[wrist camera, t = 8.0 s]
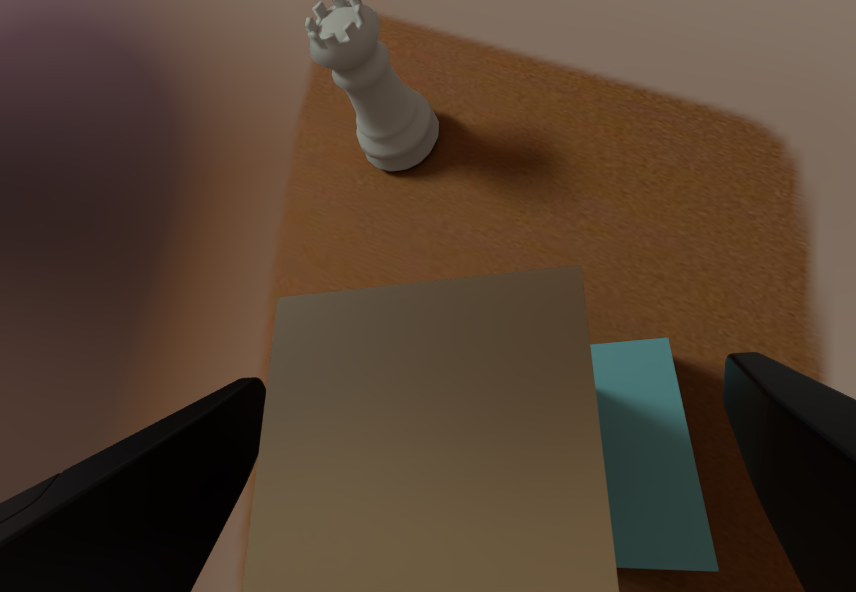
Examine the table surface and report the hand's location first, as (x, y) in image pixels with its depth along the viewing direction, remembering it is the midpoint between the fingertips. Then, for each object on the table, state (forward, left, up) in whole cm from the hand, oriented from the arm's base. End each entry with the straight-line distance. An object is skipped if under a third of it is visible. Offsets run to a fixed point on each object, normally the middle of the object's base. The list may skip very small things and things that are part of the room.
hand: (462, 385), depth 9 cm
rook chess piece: (+15, +5, -11) cm, 19 cm away
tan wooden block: (-1, 0, -8) cm, 8 cm away
